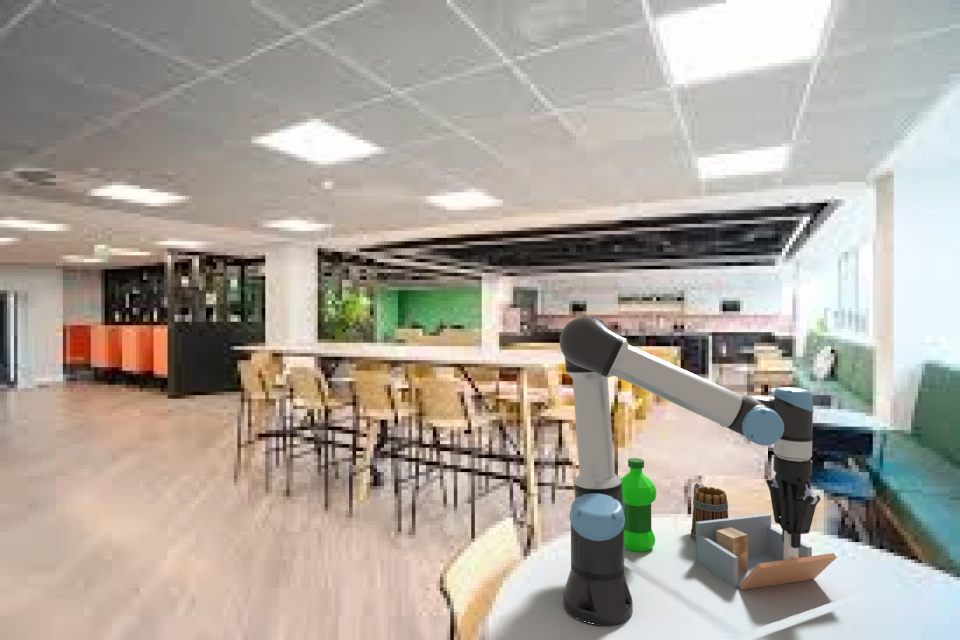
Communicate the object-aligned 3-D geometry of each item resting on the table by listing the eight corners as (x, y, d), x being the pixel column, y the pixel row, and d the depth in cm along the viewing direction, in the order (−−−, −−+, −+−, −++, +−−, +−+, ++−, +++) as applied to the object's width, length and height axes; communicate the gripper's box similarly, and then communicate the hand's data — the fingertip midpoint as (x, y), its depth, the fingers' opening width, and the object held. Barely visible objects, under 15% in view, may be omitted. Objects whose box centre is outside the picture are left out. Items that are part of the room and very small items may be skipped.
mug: (738, 552, 145) (737, 497, 144) (699, 552, 145) (698, 497, 145) (713, 529, 160) (713, 479, 160) (678, 529, 160) (678, 479, 160)
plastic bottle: (651, 543, 151) (651, 455, 150) (659, 560, 140) (658, 466, 140) (615, 541, 152) (615, 454, 152) (620, 558, 142) (619, 465, 141)
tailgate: (739, 592, 122) (761, 568, 116) (736, 587, 123) (758, 563, 117) (812, 581, 127) (837, 557, 121) (808, 576, 128) (833, 552, 121)
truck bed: (733, 594, 123) (733, 544, 123) (695, 566, 137) (695, 521, 137) (811, 582, 128) (811, 534, 128) (767, 556, 142) (767, 513, 142)
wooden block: (733, 575, 129) (733, 538, 129) (716, 566, 134) (716, 530, 133) (747, 570, 131) (747, 534, 131) (730, 562, 136) (730, 527, 135)
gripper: (831, 463, 114) (829, 571, 115) (783, 448, 127) (782, 545, 128) (802, 466, 113) (800, 575, 113) (757, 450, 125) (755, 548, 126)
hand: (790, 559), depth 120 cm, fingers closed
